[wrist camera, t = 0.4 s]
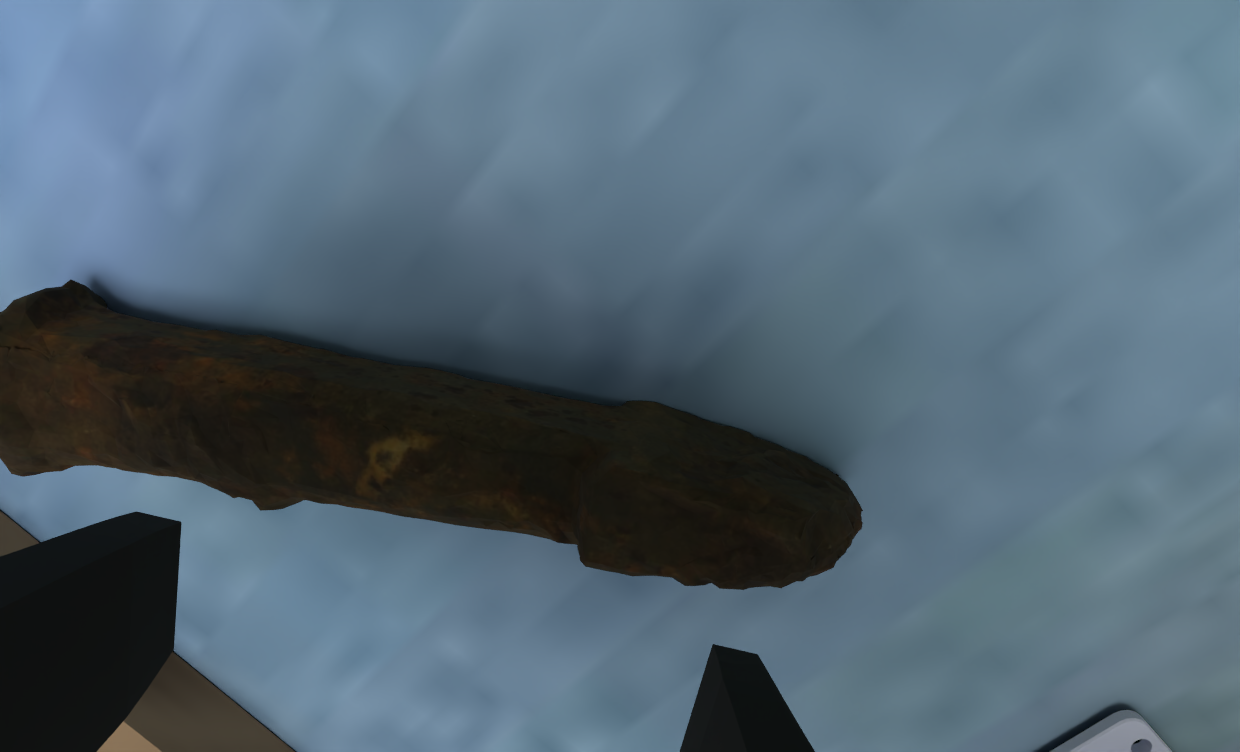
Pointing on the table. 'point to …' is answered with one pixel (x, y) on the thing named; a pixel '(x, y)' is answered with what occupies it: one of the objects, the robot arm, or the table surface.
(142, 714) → the walnut board
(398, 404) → the dark brown rod
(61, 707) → the robot arm
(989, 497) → the table surface
